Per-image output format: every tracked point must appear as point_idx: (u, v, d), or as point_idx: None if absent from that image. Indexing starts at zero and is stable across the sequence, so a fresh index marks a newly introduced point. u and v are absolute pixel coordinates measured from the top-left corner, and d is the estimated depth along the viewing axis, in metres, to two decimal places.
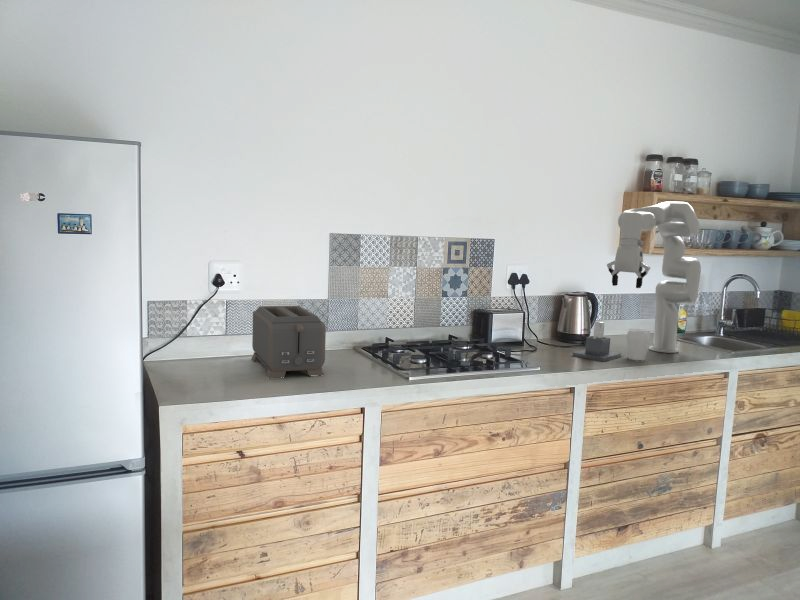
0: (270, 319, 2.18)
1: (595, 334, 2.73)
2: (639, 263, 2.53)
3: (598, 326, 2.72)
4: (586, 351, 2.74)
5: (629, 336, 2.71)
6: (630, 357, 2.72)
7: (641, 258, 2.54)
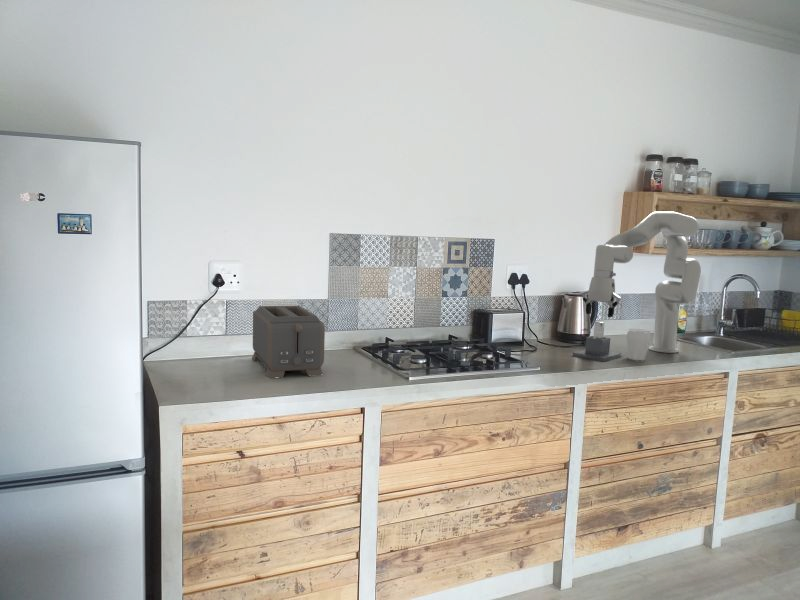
0: (269, 319, 2.18)
1: (595, 334, 2.73)
2: (611, 294, 2.67)
3: (598, 326, 2.72)
4: (586, 351, 2.74)
5: (629, 336, 2.71)
6: (630, 357, 2.72)
7: (613, 289, 2.68)
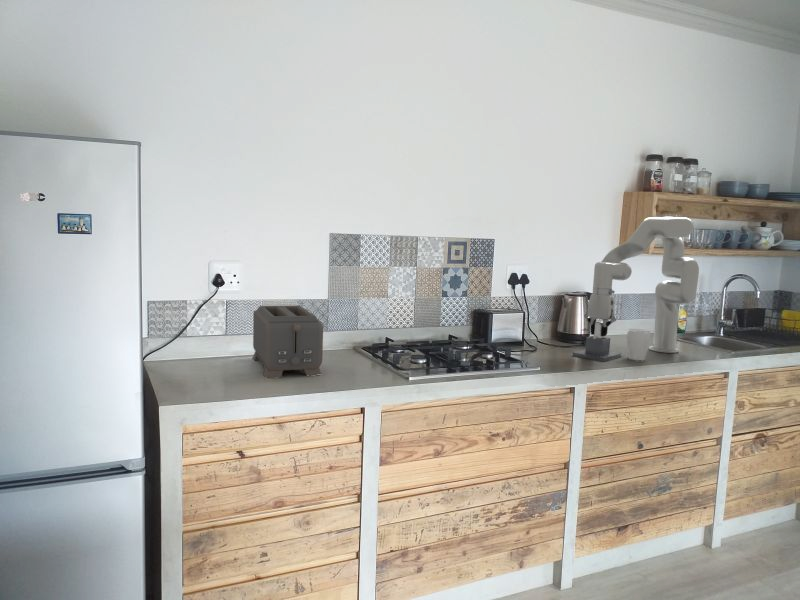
0: (268, 318, 2.19)
1: (595, 334, 2.73)
2: (610, 311, 2.68)
3: (598, 326, 2.72)
4: (586, 351, 2.74)
5: (629, 336, 2.71)
6: (630, 357, 2.72)
7: (612, 306, 2.69)
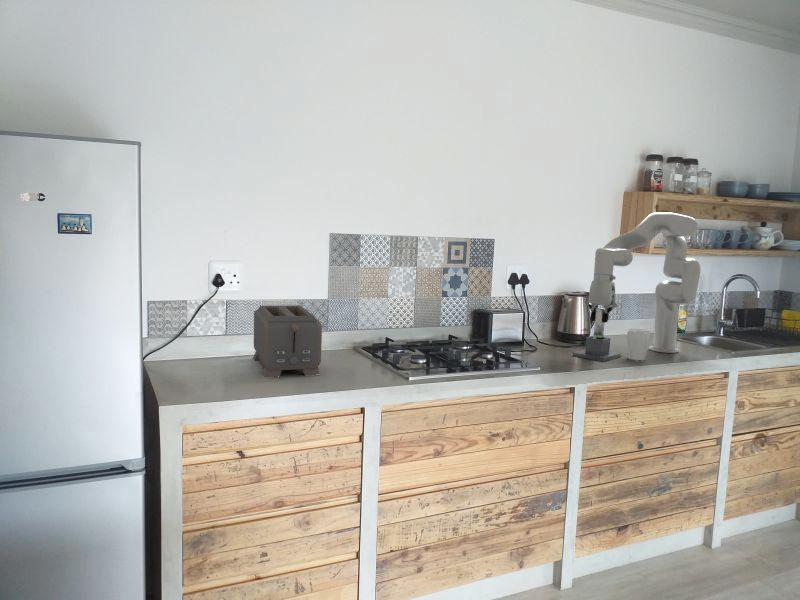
0: (267, 318, 2.19)
1: (596, 320, 2.72)
2: (611, 297, 2.68)
3: (599, 312, 2.71)
4: (586, 351, 2.74)
5: (629, 336, 2.71)
6: (630, 357, 2.72)
7: (613, 292, 2.69)
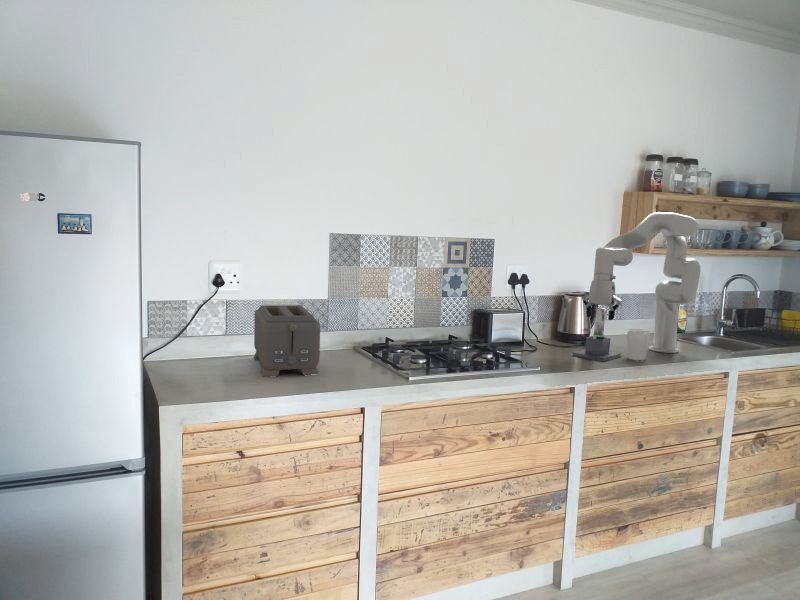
0: (265, 318, 2.20)
1: (596, 320, 2.72)
2: (611, 297, 2.68)
3: (599, 312, 2.71)
4: (586, 351, 2.74)
5: (629, 336, 2.71)
6: (630, 357, 2.72)
7: (613, 292, 2.69)
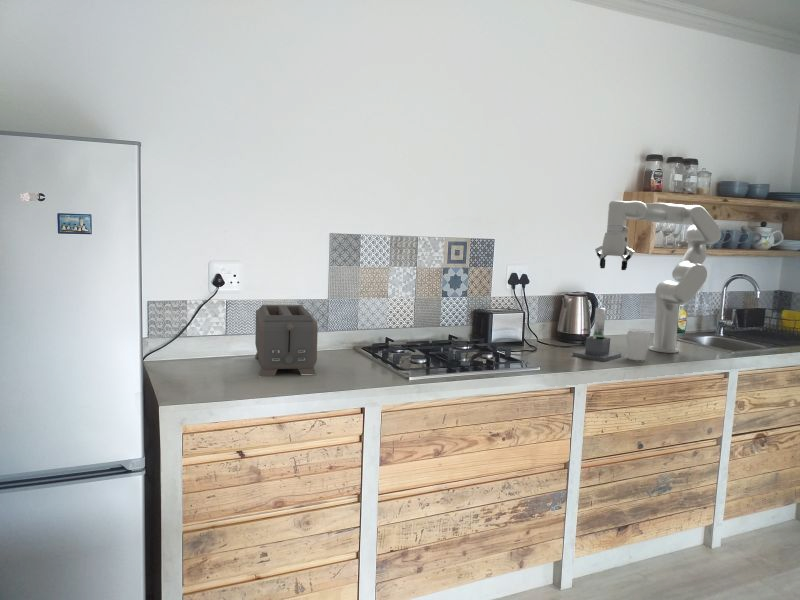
0: (263, 317, 2.21)
1: (596, 320, 2.72)
2: (624, 247, 2.78)
3: (599, 312, 2.71)
4: (586, 351, 2.74)
5: (629, 336, 2.71)
6: (630, 357, 2.72)
7: (626, 243, 2.79)
